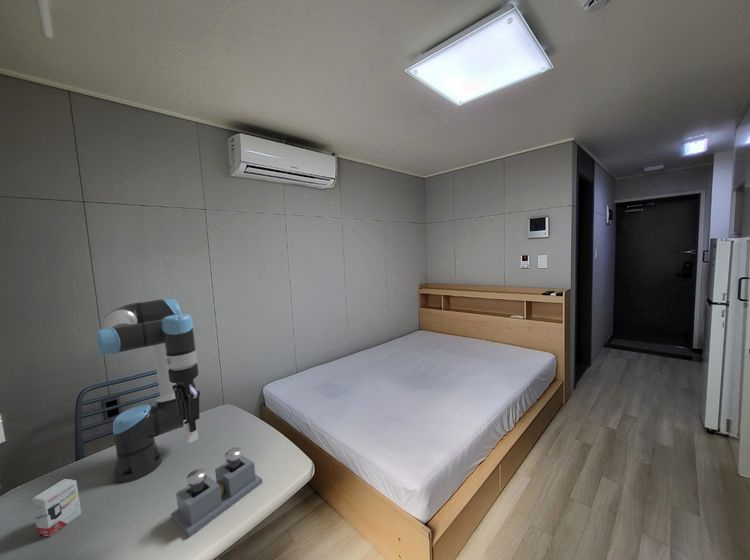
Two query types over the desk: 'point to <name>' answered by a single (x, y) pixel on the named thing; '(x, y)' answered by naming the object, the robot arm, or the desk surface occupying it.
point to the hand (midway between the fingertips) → (192, 439)
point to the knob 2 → (233, 459)
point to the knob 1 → (197, 481)
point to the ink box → (56, 506)
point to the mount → (214, 496)
